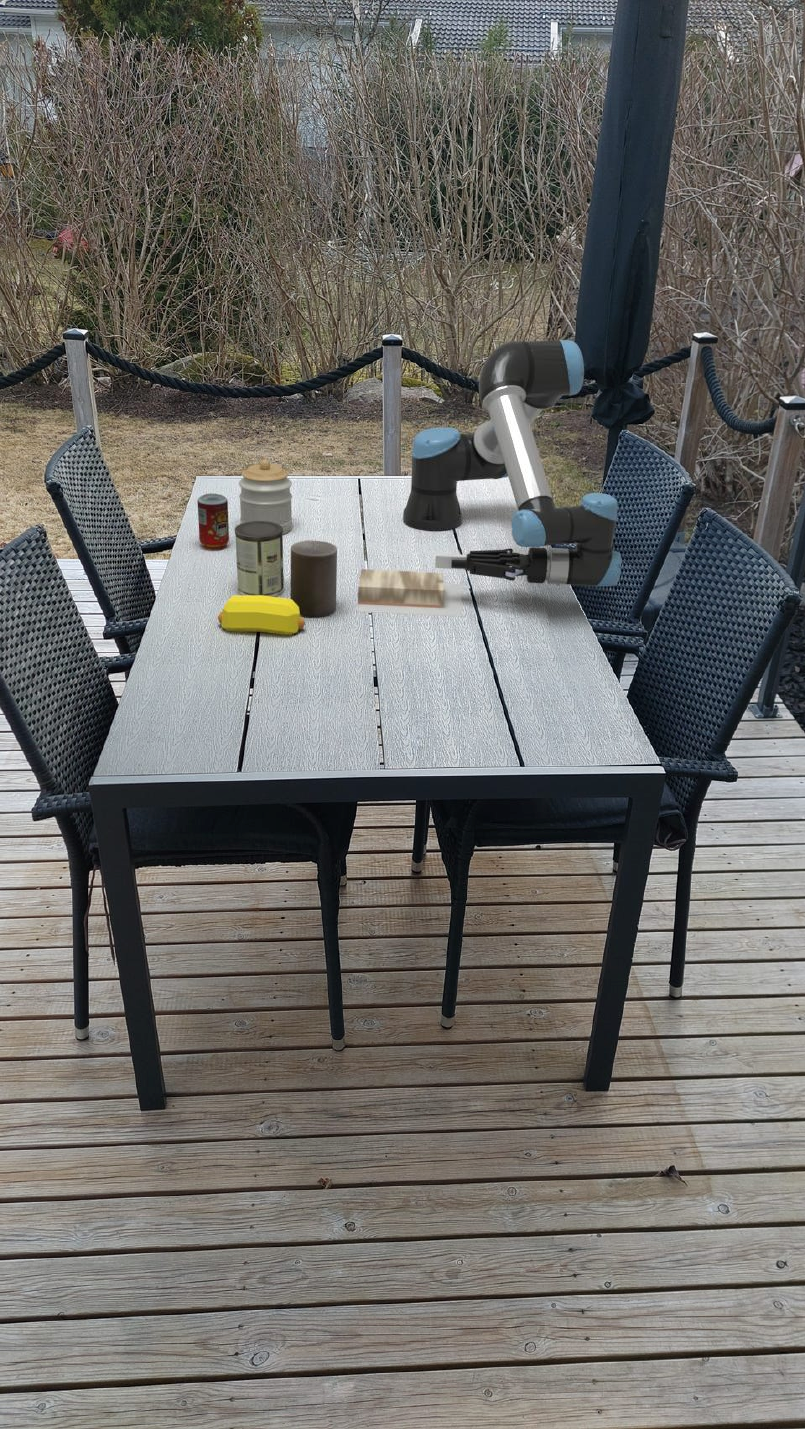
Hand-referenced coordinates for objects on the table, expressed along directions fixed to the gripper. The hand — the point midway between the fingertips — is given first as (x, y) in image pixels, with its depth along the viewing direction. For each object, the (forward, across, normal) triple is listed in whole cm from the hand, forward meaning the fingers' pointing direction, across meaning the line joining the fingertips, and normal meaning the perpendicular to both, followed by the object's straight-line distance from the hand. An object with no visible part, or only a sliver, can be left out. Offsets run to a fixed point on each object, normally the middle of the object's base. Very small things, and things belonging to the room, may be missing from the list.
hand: (435, 560), depth 236 cm
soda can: (+53, +28, -10) cm, 61 cm away
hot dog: (+35, -18, -10) cm, 40 cm away
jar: (+42, +42, -10) cm, 60 cm away
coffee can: (+38, +2, -10) cm, 39 cm away
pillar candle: (+25, -7, -10) cm, 28 cm away
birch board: (-2, 0, -7) cm, 7 cm away
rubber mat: (+5, 0, -10) cm, 11 cm away
